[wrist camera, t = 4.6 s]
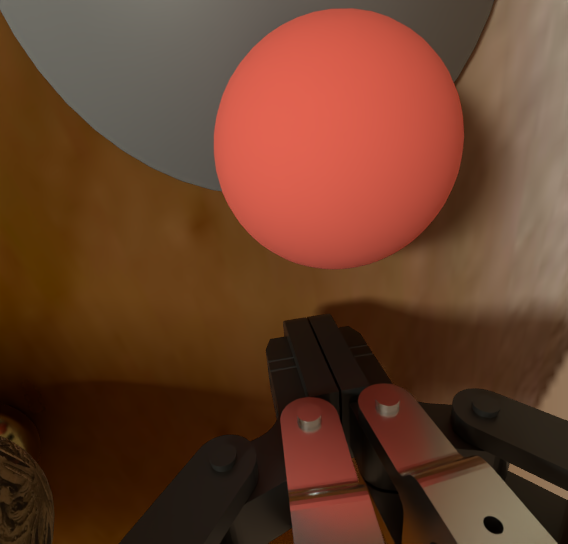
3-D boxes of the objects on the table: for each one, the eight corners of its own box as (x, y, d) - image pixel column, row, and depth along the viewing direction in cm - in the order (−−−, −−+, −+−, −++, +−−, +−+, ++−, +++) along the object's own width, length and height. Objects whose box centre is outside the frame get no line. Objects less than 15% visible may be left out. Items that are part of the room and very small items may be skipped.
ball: (344, -42, 4) (293, -80, 8) (157, 266, 7) (184, 133, 11) (580, 180, 7) (455, 71, 11) (367, 341, 10) (330, 211, 14)
